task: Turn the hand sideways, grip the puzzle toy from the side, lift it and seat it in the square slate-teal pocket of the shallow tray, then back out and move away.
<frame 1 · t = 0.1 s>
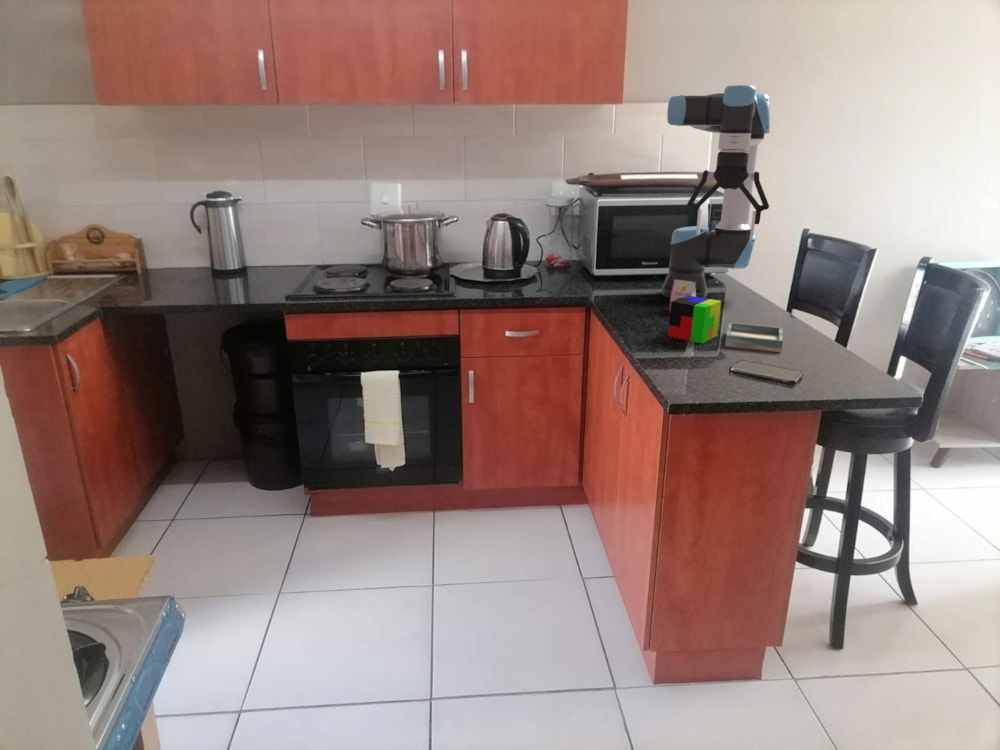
hand: (724, 235, 186), 28 cm above the countertop, tool pointing down, fingers open, 13 cm apart
tea bag: (681, 312, 221), on the countertop
shallow tray: (753, 342, 191), on the countertop
puzzle toy: (692, 337, 196), on the countertop
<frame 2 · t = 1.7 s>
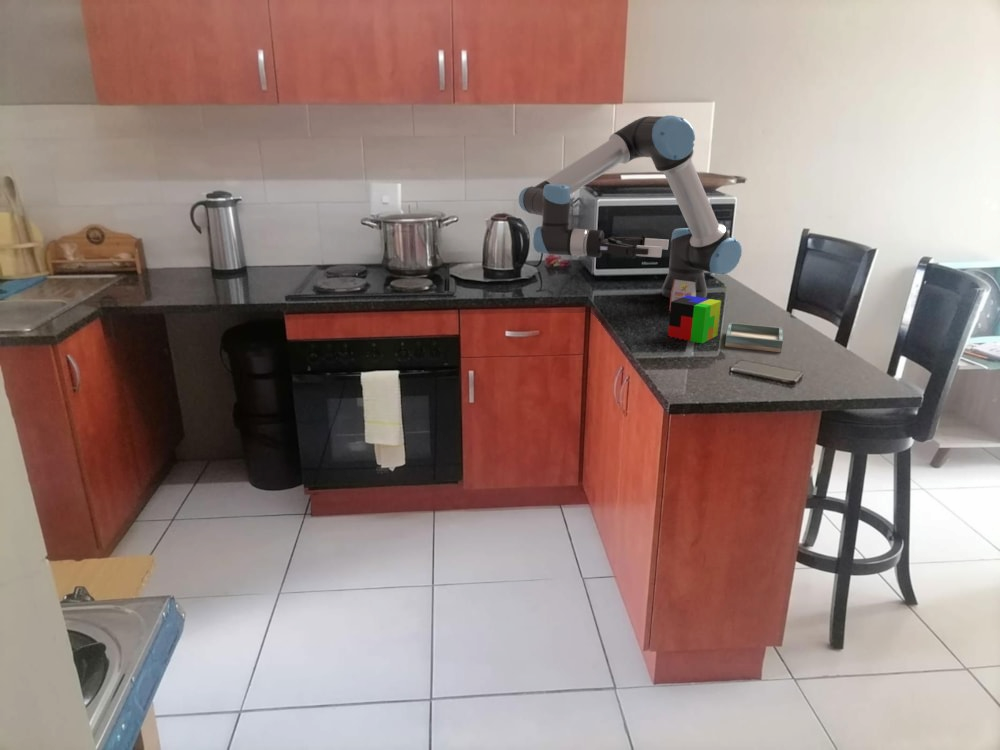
hand: (665, 248, 191), 24 cm above the countertop, tool horizontal, fingers open, 13 cm apart
nothing on the countertop moved.
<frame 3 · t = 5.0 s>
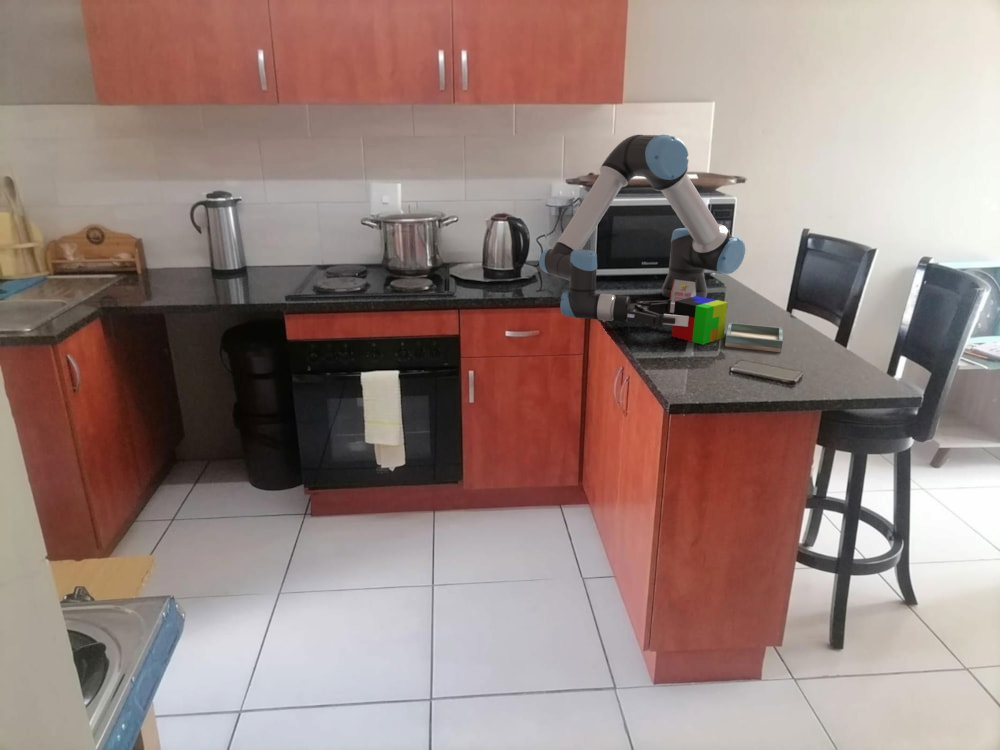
hand: (691, 315, 194), 6 cm above the countertop, tool horizontal, fingers open, 13 cm apart
puzzle toy: (697, 337, 195), on the countertop, touching gripper
everything else where it was.
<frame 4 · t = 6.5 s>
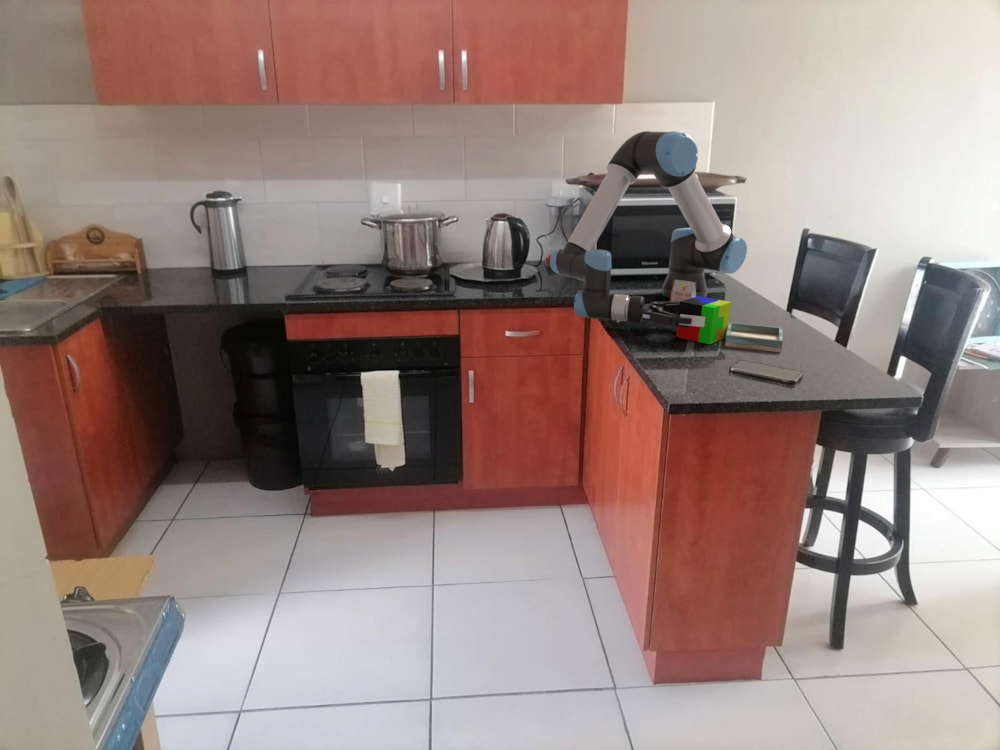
hand: (707, 316, 193), 6 cm above the countertop, tool horizontal, fingers closed on puzzle toy, 12 cm apart
puzzle toy: (701, 338, 195), on the countertop, touching gripper, shallow tray
everything else where it was.
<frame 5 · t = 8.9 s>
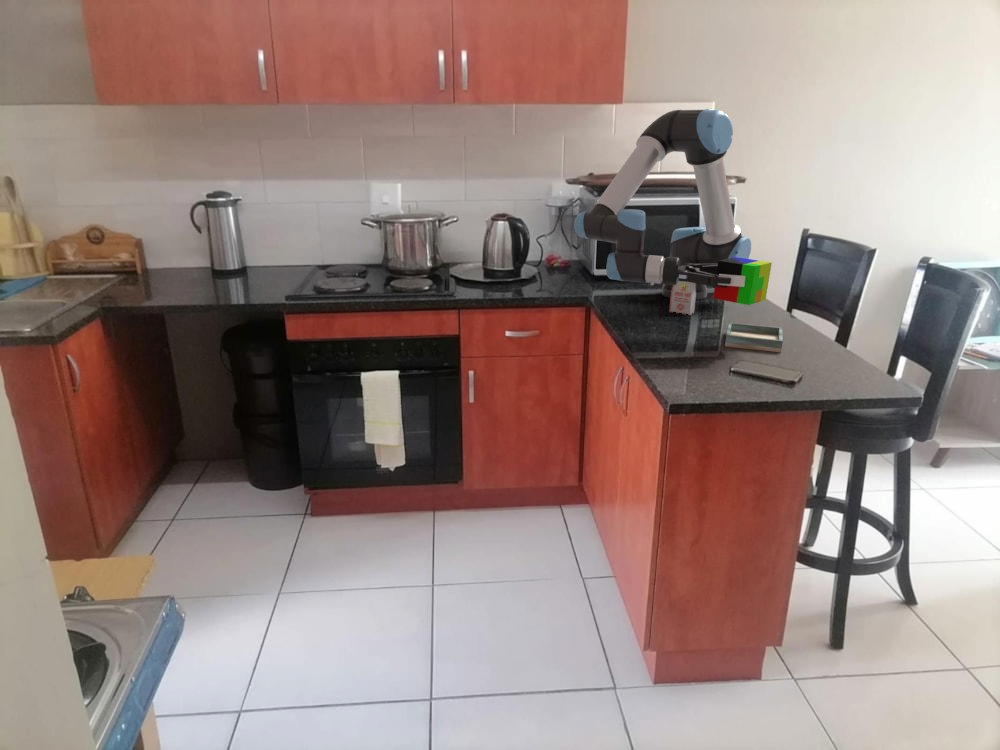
hand: (746, 276, 185), 18 cm above the countertop, tool horizontal, fingers closed on puzzle toy, 12 cm apart
puzzle toy: (739, 299, 187), point 12 cm above the countertop, touching gripper
everything else where it was.
when the fingers open (9 cm above the countertop, at t = 11.7 s): puzzle toy stays where it is, resting on shallow tray.
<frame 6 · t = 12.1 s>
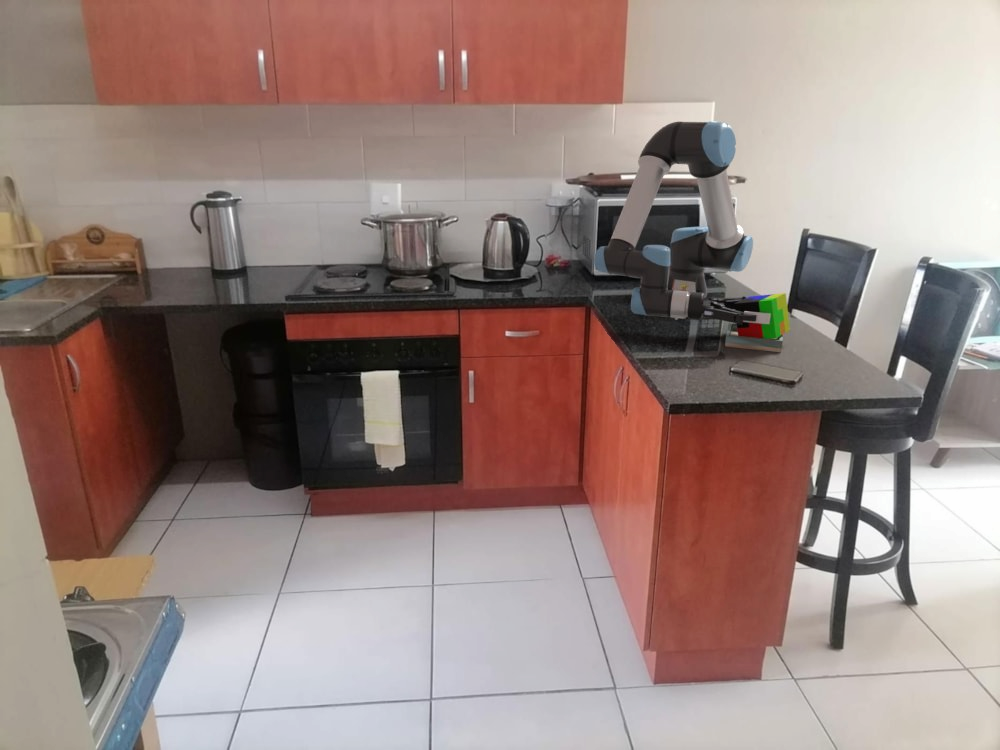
hand: (770, 312, 187), 8 cm above the countertop, tool horizontal, fingers open, 13 cm apart
puzzle toy: (764, 335, 189), point 2 cm above the countertop, touching gripper, shallow tray
everything else where it was.
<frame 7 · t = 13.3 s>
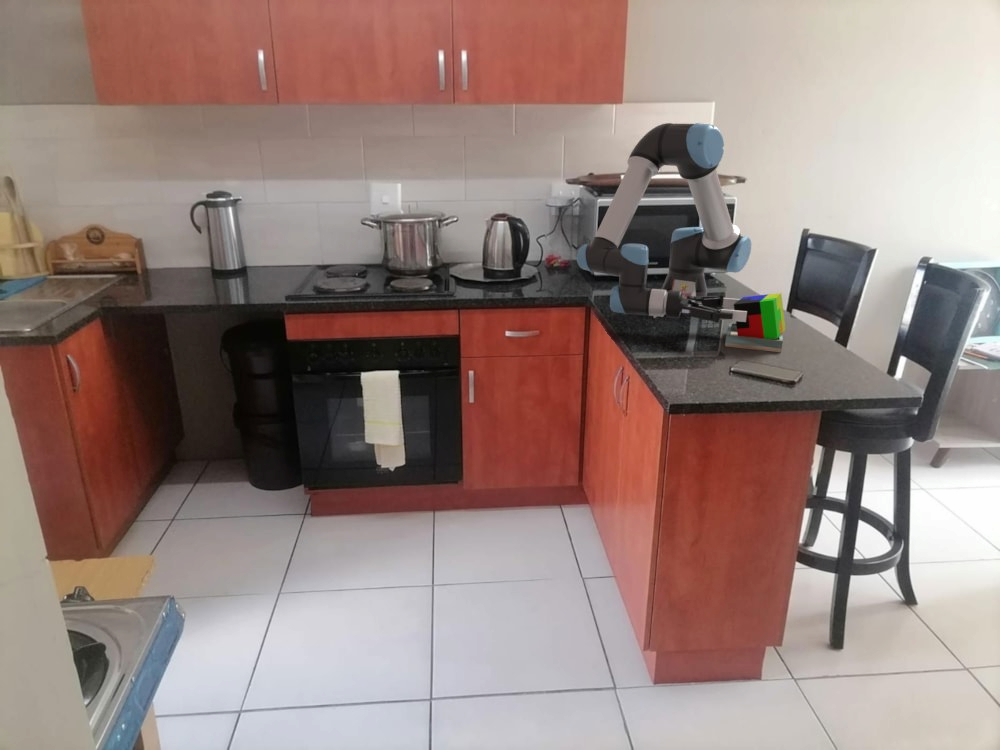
hand: (747, 310, 189), 9 cm above the countertop, tool horizontal, fingers open, 13 cm apart
puzzle toy: (762, 335, 190), point 2 cm above the countertop, touching shallow tray
everything else where it was.
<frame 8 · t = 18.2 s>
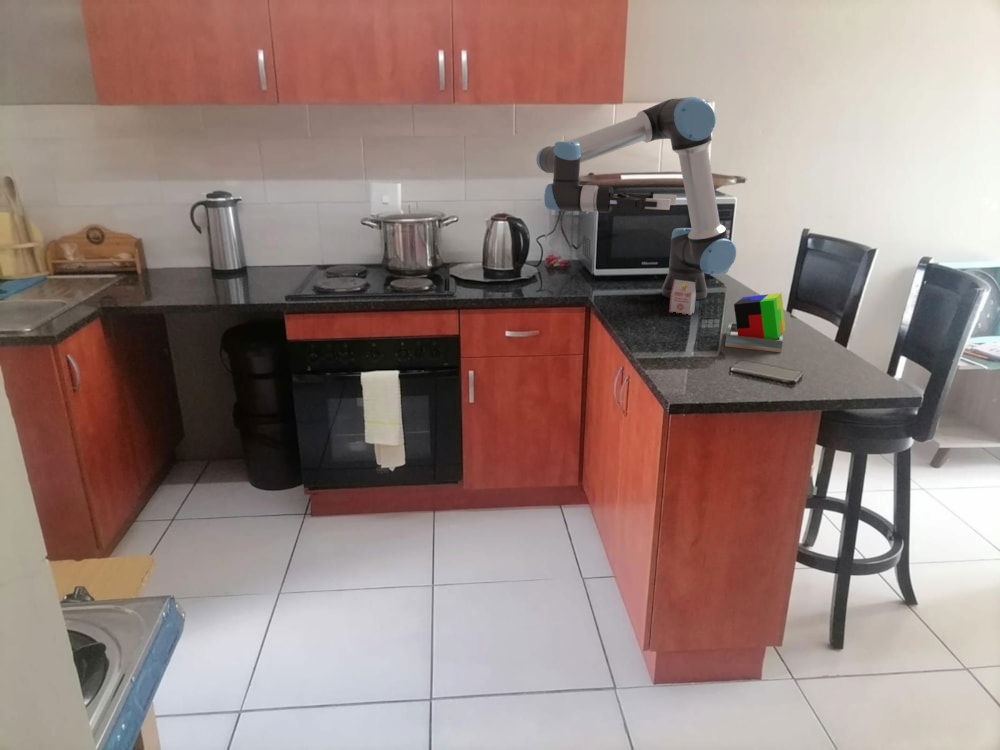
hand: (673, 202, 196), 35 cm above the countertop, tool horizontal, fingers open, 13 cm apart
nothing on the countertop moved.
at the end: puzzle toy 2.1 cm off-centre on the shallow tray, point 2.0 cm above the shallow tray's base; puzzle toy tilted 14°; the gripper is holding nothing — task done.
